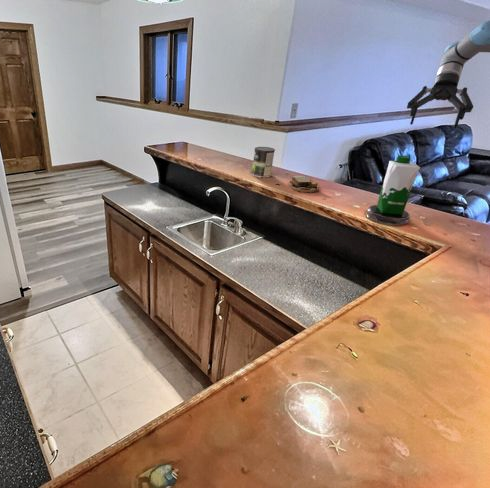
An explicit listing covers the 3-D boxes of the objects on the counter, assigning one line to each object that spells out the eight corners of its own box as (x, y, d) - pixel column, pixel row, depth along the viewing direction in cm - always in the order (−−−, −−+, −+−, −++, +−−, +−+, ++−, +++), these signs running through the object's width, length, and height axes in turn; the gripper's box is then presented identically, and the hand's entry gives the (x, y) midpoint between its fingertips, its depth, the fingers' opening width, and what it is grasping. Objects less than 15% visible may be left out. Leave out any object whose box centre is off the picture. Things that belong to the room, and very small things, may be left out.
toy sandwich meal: (296, 193, 161) (298, 183, 159) (285, 184, 173) (287, 175, 171) (322, 193, 162) (324, 183, 160) (310, 184, 174) (312, 175, 172)
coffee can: (253, 177, 184) (257, 150, 178) (249, 172, 193) (252, 146, 187) (273, 177, 184) (277, 150, 178) (268, 172, 193) (272, 146, 187)
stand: (408, 217, 136) (411, 209, 134) (406, 229, 126) (409, 220, 124) (368, 210, 143) (370, 202, 141) (363, 220, 133) (365, 212, 131)
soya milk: (397, 207, 136) (415, 156, 127) (406, 216, 128) (425, 161, 119) (373, 205, 138) (388, 154, 129) (380, 213, 130) (397, 160, 121)
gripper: (484, 87, 132) (471, 133, 127) (407, 85, 144) (393, 127, 140) (492, 72, 125) (479, 120, 121) (411, 70, 138) (396, 114, 134)
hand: (433, 123), depth 130 cm, fingers open, 13 cm apart
